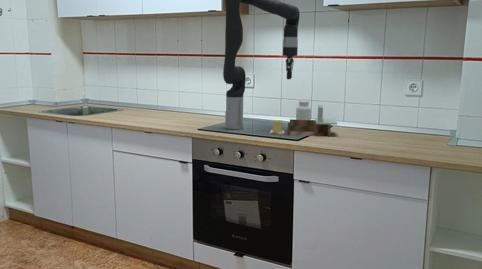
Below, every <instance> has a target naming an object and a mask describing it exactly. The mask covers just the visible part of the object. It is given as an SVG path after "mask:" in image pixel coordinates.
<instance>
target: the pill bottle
mask: <svg viewBox="0 0 482 269" xmlns="http://www.w3.org/2000/svg"><path fill="white" fill-rule="evenodd" d="M309 104H310V102H309V101H308V100H301V101H300V100H299V102H298V106H296V110H295V111H296V112H295V115H296V116H295V120H312V119H311V118H312V117H311V116H312V109H311V107H310V106H309Z"/></svg>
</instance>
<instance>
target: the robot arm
mask: <svg viewBox="0 0 482 269" xmlns="http://www.w3.org/2000/svg"><path fill="white" fill-rule="evenodd" d="M224 1H225V3H224V4H225V31H224V32H225V33H224V34H225V35H224V36H225V37H224V38H225V39H224V40H225V41H224V42H225V46H224V61H223V62H224V63H223V72H222V76H223V81H224V83H225V84H226V85H232V86H231V87H230V88H229V89H228V90H227V91H226V93H225V95H226V98H225V103H226V105H225V112H224V113H225V116H224V117H225V118H224V119H225V121H224V123H225V124H224V126H225V127H224V128H225V129H227V130H242V129H244V94H245V90H246V81H247V80H246V78H247V77H246V76H247V75H246V71H245V69H244V67H242V66H236V58H237V55H238V53H239V51H240V49H241V47H242V44H243V40H244V28H243V27H244V26H243V23H242V22H243V21H242V18H241V13H240V5H241V4H244V5H245V4H247V5H249V6H253V7H254V8H257V9H260V10H261V11H264V12H267V13H269V14H273V15H277V17H278V16H279V17H281V18H284V19H285V25H284V27H283V40H282V56H283V57H286V59H285V68H286V80H291V79H292V78H293V68H294V63H295V60H294V58H293V57H297V56H298V49H299V47H298V45H299V41H298V40H299V38H298V37H299V36H298V34H299V33H298V32H299V31H298V30H299V29H298V28H299V23H300V9H299V8H298V7H297V6H296V5H293V4H289V3H286V2H282V1H280V0H224ZM240 3H241V4H240Z"/></svg>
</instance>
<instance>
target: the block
mask: <svg viewBox="0 0 482 269" xmlns="http://www.w3.org/2000/svg"><path fill="white" fill-rule="evenodd" d="M272 130H273V132H282V130H283V120H282V119H273V120H272Z"/></svg>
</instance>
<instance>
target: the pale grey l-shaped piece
mask: <svg viewBox="0 0 482 269" xmlns="http://www.w3.org/2000/svg"><path fill="white" fill-rule="evenodd" d="M323 114H324V106H323V105H322V104H321V105H320V104H319V105H317V118H315V119H314V120H315V121H316V124H329V125H331V126H332V125H333V126H337V125H338V122H337V120H336V118H323V116H324V115H323Z"/></svg>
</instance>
